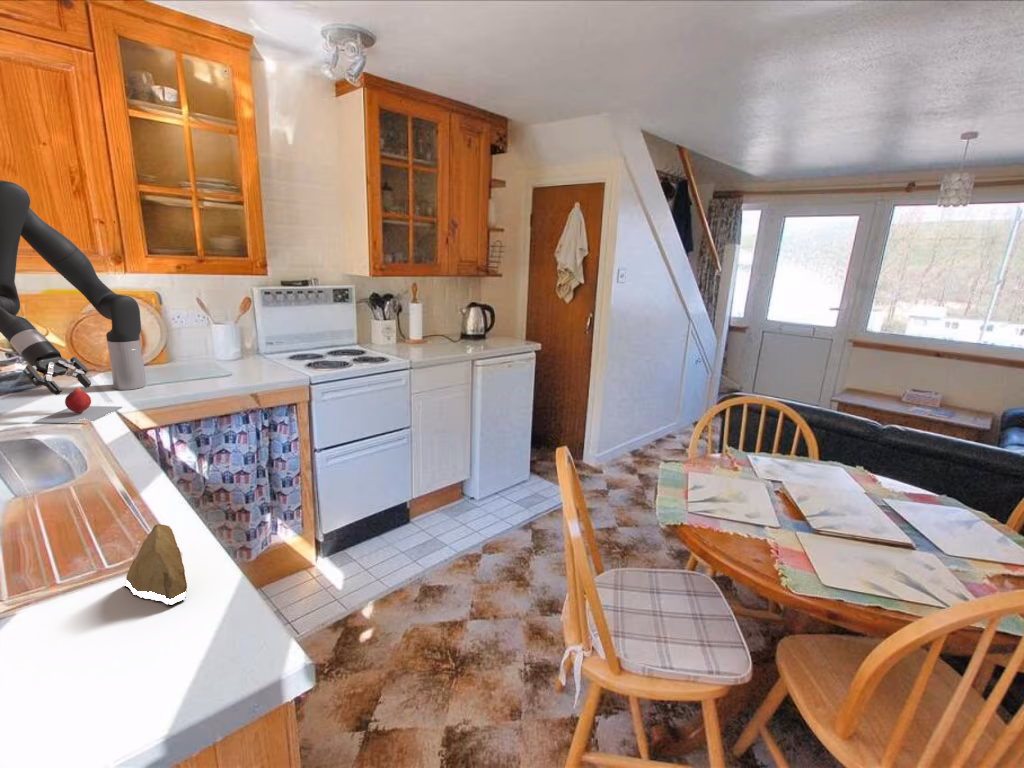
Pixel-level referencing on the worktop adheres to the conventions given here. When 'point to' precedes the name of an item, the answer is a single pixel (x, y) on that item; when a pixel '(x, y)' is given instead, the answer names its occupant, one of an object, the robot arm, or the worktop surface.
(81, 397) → the onion
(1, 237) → the robot arm
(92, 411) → the mat
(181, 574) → the rock
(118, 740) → the worktop surface
